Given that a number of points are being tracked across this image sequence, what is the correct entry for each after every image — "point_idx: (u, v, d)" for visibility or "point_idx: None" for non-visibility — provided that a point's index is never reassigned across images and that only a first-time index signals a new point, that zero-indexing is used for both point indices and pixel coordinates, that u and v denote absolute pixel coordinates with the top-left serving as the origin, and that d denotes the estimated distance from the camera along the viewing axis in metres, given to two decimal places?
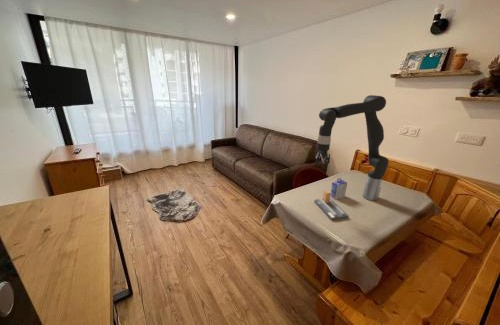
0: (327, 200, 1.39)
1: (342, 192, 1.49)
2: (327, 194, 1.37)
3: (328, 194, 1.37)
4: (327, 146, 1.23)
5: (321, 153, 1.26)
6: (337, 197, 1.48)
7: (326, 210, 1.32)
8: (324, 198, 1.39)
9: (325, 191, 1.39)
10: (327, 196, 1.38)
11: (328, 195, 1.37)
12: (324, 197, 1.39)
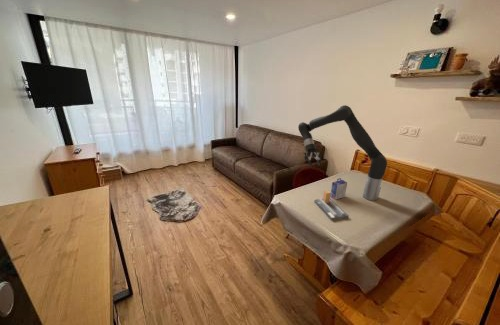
0: (327, 200, 1.39)
1: (342, 192, 1.49)
2: (327, 194, 1.37)
3: (328, 194, 1.37)
4: (306, 147, 1.55)
5: None
6: (337, 197, 1.48)
7: (326, 210, 1.32)
8: (324, 198, 1.39)
9: (325, 191, 1.39)
10: (327, 196, 1.38)
11: (328, 195, 1.37)
12: (324, 197, 1.39)
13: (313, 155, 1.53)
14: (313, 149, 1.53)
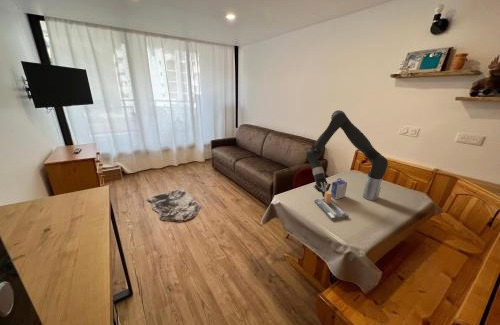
0: (328, 201, 1.38)
1: (342, 192, 1.49)
2: (328, 195, 1.36)
3: (329, 195, 1.36)
4: (315, 176, 1.45)
5: None
6: (337, 197, 1.48)
7: (326, 210, 1.32)
8: (325, 199, 1.38)
9: (326, 192, 1.38)
10: (328, 197, 1.37)
11: (329, 196, 1.36)
12: (325, 198, 1.38)
13: (323, 185, 1.43)
14: (323, 179, 1.44)
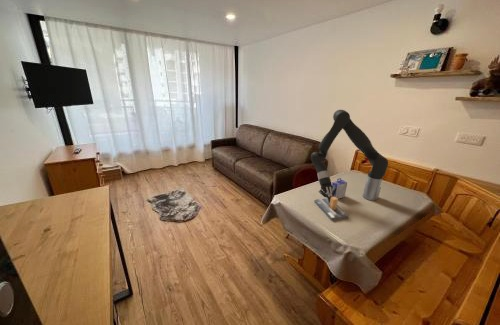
0: (334, 207, 1.32)
1: (342, 192, 1.49)
2: (334, 200, 1.30)
3: (335, 200, 1.30)
4: (320, 180, 1.39)
5: None
6: (337, 197, 1.48)
7: (326, 210, 1.32)
8: (331, 205, 1.32)
9: (332, 197, 1.31)
10: (334, 202, 1.30)
11: (335, 201, 1.30)
12: (331, 203, 1.32)
13: (328, 190, 1.37)
14: (328, 183, 1.37)
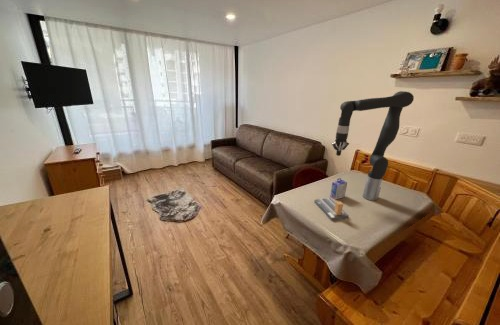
0: (339, 212, 1.27)
1: (342, 192, 1.49)
2: (339, 205, 1.25)
3: (340, 205, 1.25)
4: (338, 134, 1.39)
5: None
6: (337, 197, 1.48)
7: (326, 210, 1.32)
8: (336, 209, 1.27)
9: (337, 202, 1.26)
10: (339, 207, 1.25)
11: (340, 206, 1.25)
12: (336, 208, 1.27)
13: (341, 144, 1.42)
14: None
